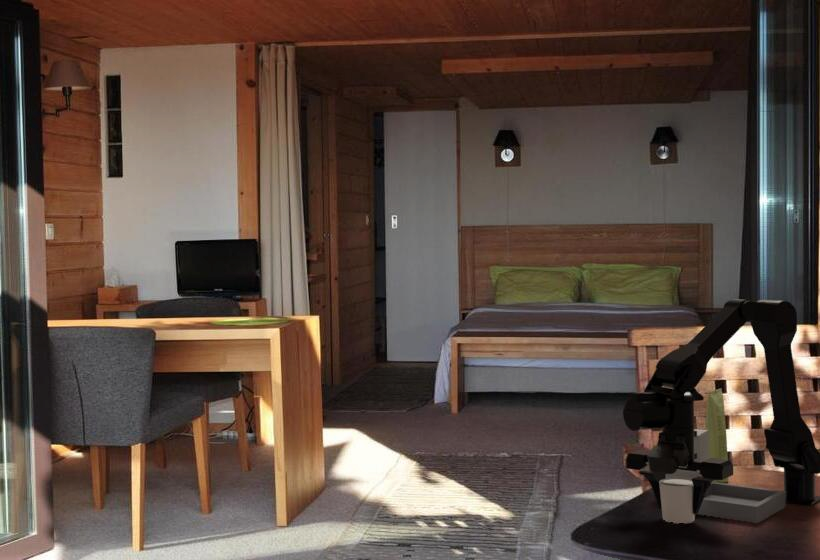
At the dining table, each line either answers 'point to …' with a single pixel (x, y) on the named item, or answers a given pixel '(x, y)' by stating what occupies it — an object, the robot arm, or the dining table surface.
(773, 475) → the dining table surface
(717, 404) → the tube
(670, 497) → the white cup
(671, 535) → the dining table surface
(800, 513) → the dining table surface
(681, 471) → the supplement box
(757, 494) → the tray
